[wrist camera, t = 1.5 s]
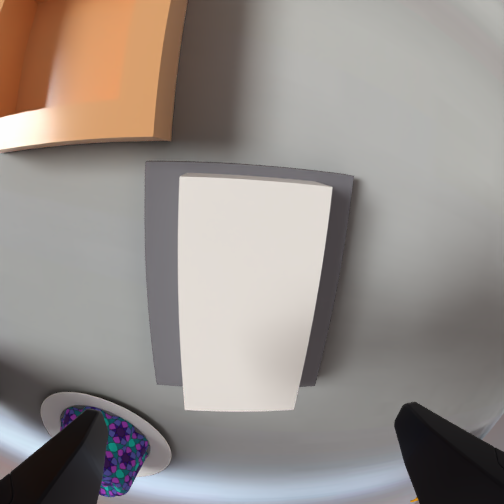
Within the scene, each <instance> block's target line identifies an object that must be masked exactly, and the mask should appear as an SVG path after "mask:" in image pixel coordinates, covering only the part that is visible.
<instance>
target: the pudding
mask: <svg viewBox="0 0 504 504" xmlns="http://www.w3.org/2000/svg"><path fill="white" fill-rule="evenodd" d="M75 405H86V406H92V407H85V408H83V409H82V410H80V409H77V408H74V407H71V408H67V407H70V406H75ZM95 407H96V408H95ZM66 408H67V409H66ZM98 408H100V409H98ZM64 409H66V410H65V412H64V418H62V419H61V423H60V416H61V413H62V411H63V410H64ZM86 409H94V410H99V411H101V412H102V414H103V417H104V420H105V423H106V425H107V428H108V439H107V446H106V454H105V462H104V471H103V478H102V483H101V487H100V491H99V494H100V495H103V496H106V497H115V496H121V495H124V494H126V493H127V492H128V491H129V489H130V487H131V485H132V484H133V482H134V480H135V478H136V477H142V476H149V475H154V474H156V473H159V472H161V471H162V470H164V469H165V468H166V467H167V466H168V465H169V463H170V461H171V450H170V446H169V445H168V443H167V441H166V440H165V438H164V437H163V436H162V435H161V434H160V433H159V431H158V430H156V429H155V428H154V427H153V426H152V425H151V424H149V423H148V422H147V421H145V420H144V419H142V418H141V417H139V416H138V415H136V414H134V413H133V412H131V411H129V410H127V409H126V408H123V407H121V406H119V405H117V404H115V403H113V402H110V401H107V400H104V399H102V398H99V397H95V396H91V395H88V394H82V393H76V392H61V393H55V394H53V395H50V396H48V397H47V398H46V399H45V400H44V401H43V403H42V405H41V410H40V413H41V419H42V422H43V424H44V426H45V428H46V430H47V431H48V433H49V434H50V436H51V437H52V438H53V437H54V436H55V435H56V434H57V433H59V432H60V431H61V430H62V429H63V428H65V427H66V426H67V425H68V424H69V423H71V422H72V421H73V420H74V419H75V418H77V417H78V416H79V415H80V414H81V413H82V412H84V411H85V410H86ZM101 409H103V410H106V411H109V412H111V413H113V414H116V415H118V416H120V417H121V418H120V417H115V416H109V415H108V414H106V413H105V412H104V411H103V410H101ZM122 418H123V419H122ZM124 419H125V420H124ZM126 420H127V421H126ZM129 422H130V423H131V424H133V425H134V426H135V427H136V428H138V429H139V430H140V431H141V432H142V433H143V434H144V435H145V437H146V438H147V439H146V438H145V437H144V436H142V435H140V434H138V433H136V432H135V430H134V426H133V425H131V424H130V423H129ZM147 440H148V441H147ZM148 442H149V444H150V454H149V456H148V457H147V455H148V453H147V452H146V450H147V448H148V446H149V444H148Z"/></svg>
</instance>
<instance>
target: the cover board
mask: <svg viewBox="0 0 504 504" xmlns="http://www.w3.org/2000/svg"><path fill="white" fill-rule="evenodd" d="M332 188H333V187H331V186H328V185H325V184H321V183H318V182H315V181H306V180H296V179H285V178H273V177H260V176H245V175H228V174H207V173H186V174H184V175H181V176H180V178H179V205H178V303H179V331H180V350H181V367H182V381H183V393H184V405H185V410H196V411H227V412H251V411H282V410H294V406H295V402H296V398H297V393H298V389H299V385H300V380H301V376H302V371H303V367H304V362H305V357H306V352H307V348H308V343H309V338H310V332H311V327H312V322H313V317H314V311H315V306H316V300H317V294H318V288H319V282H320V276H321V270H322V263H323V257H324V250H325V243H326V236H327V229H328V221H329V213H330V205H331V196H332Z"/></svg>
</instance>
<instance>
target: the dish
mask: <svg viewBox="0 0 504 504" xmlns="http://www.w3.org/2000/svg"><path fill="white" fill-rule="evenodd" d="M187 3H188V0H0V153H7V152H13V151H20V150H28V149H36V148H44V147H53V146H64V145H75V144H89V143H107V142H134V141H171V137H172V123H173V111H174V100H175V90H176V80H177V71H178V63H179V55H180V48H181V41H182V34H183V27H184V21H185V15H186V9H187Z"/></svg>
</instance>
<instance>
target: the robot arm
mask: <svg viewBox="0 0 504 504" xmlns="http://www.w3.org/2000/svg"><path fill="white" fill-rule="evenodd" d="M394 426H395V431H396V434H397V438H398V441H399V445H400V449H401V452H402V456H403V460H404V463H405V466H406V469H407V471H408V474H409V476H410V479H411V482H412V484H413V487H414V490H415V492H416V495H417V498H418V500H419V503H420V504H504V452H503V451H501V450H499V449H497V448H494V447H493V446H492V445H490V444H488V443H486V442H484V441H483V440H481V439H479V438H477V437H475V436H474V435H472V434H470V433H468V432H466V431H465V430H463V429H461V428H459V427H458V426H456V425H454V424H452V423H451V422H449V421H447V420H446V419H444V418H442V417H440V416H439V415H437V414H435V413H434V412H432V411H430V410H428V409H427V408H425V407H423V406H422V405H420V404H418V403H416V402H411V403H406V404H404V405H403V406H402V408H401V410H400V412H399V414H398V416H397V418H396V419H395V423H394ZM107 439H108V428H107V425H106V423H105V420H104V417H103V414H102V412H101V411H99V410H94V409H86V410H85V411H84V412H82V413H81V414H80V415H79V416H78V417H77V418H75V419H74V420H73V421H72V422H71V423H69V424H68V425H67V426H66V427H65V428H63V429H62V430H61V431H60V432H59V433H57V434H56V435H55V436H54V437H53V438H51V439H50V440H49V441H48V442H47V443H45V444H44V445H43V446H42V447H41V448H39V449H38V450H37V451H36V452H34V453H33V454H32V455H31V456H30V457H28V458H27V459H26V460H25V461H24V462H22V463H21V464H20V465H19V466H17V467H16V468H15V469H14V470H13V471H11V473H10V474H8V475H6V476H5V477H4V478H3V479H1V480H0V504H97V500H98V496H99V491H100V487H101V483H102V478H103V471H104V462H105V454H106V446H107Z"/></svg>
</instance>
